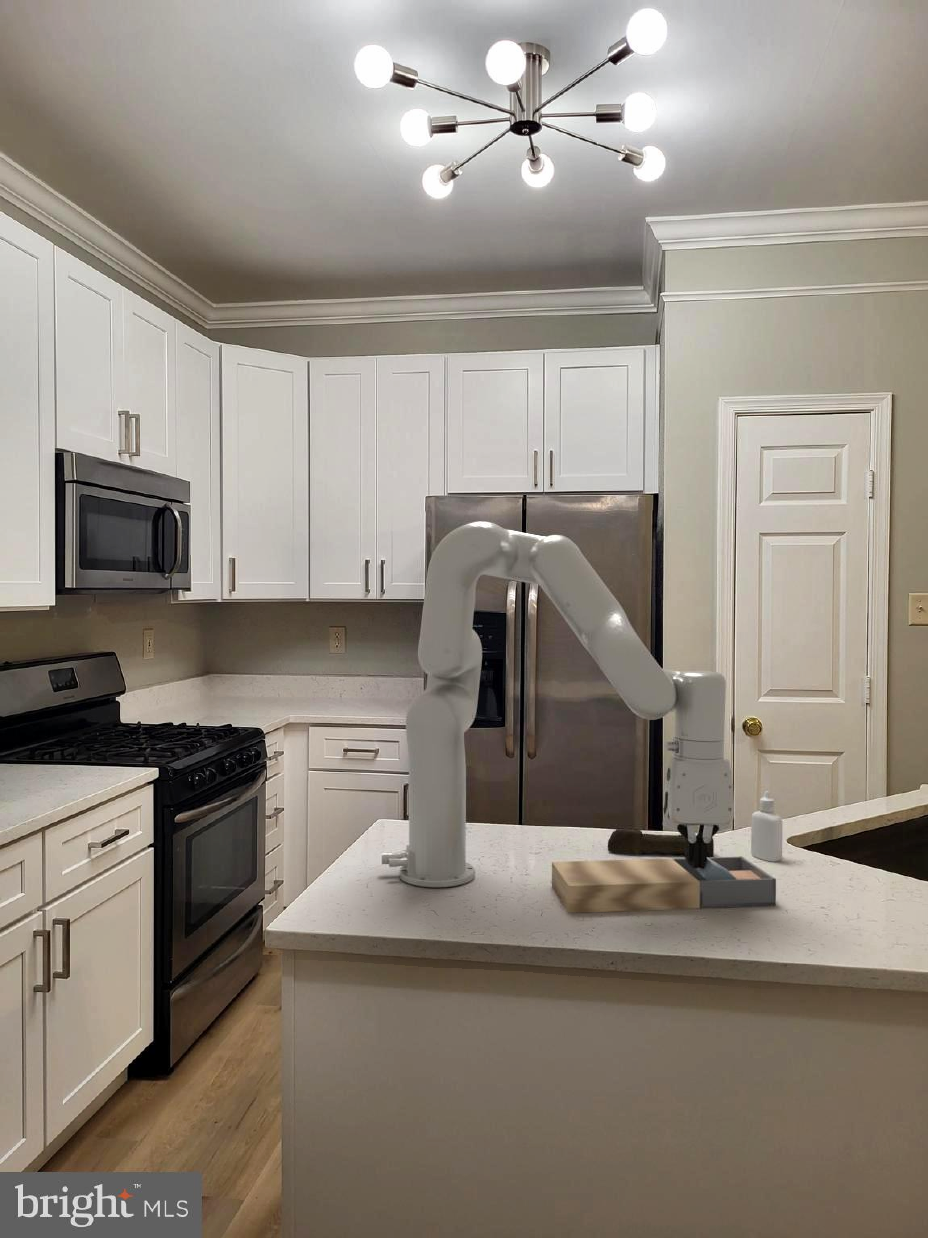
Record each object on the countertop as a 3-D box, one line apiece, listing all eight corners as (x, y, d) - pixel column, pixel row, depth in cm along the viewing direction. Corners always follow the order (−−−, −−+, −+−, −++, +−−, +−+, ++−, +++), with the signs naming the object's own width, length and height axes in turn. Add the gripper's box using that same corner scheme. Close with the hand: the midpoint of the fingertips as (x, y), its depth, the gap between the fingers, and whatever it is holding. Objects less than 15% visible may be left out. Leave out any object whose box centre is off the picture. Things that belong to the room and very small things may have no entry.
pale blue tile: (703, 877, 133) (712, 864, 133) (694, 867, 138) (702, 854, 138) (727, 892, 134) (736, 878, 133) (717, 882, 138) (726, 868, 138)
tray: (699, 908, 130) (699, 881, 130) (671, 883, 142) (671, 858, 142) (775, 905, 131) (775, 879, 131) (741, 880, 143) (742, 856, 143)
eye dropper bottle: (772, 853, 159) (773, 788, 159) (784, 862, 153) (785, 795, 153) (748, 853, 159) (749, 788, 159) (760, 862, 153) (760, 795, 153)
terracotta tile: (762, 879, 134) (762, 895, 134) (750, 870, 139) (750, 885, 139) (734, 880, 134) (733, 896, 134) (723, 871, 138) (722, 886, 138)
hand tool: (711, 853, 160) (711, 828, 160) (714, 859, 156) (715, 834, 156) (607, 850, 162) (607, 825, 162) (608, 856, 158) (608, 830, 158)
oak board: (568, 913, 128) (569, 886, 127) (551, 886, 139) (551, 862, 139) (699, 908, 130) (699, 881, 130) (671, 883, 142) (671, 858, 142)
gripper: (660, 753, 131) (657, 874, 131) (755, 754, 133) (751, 873, 133) (645, 745, 138) (642, 859, 139) (734, 746, 140) (731, 858, 140)
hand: (695, 865), depth 136 cm, fingers closed
